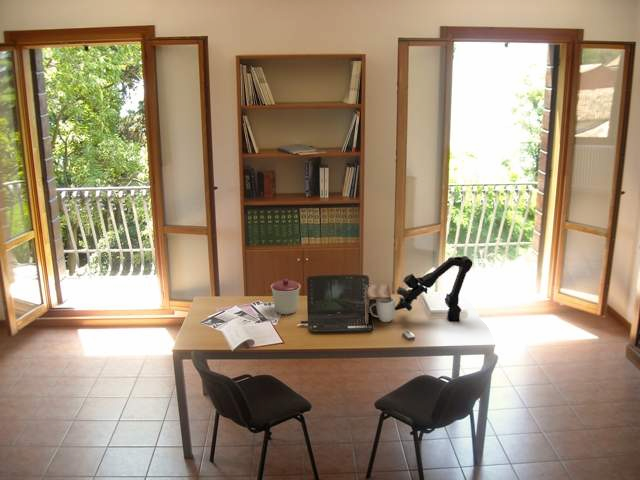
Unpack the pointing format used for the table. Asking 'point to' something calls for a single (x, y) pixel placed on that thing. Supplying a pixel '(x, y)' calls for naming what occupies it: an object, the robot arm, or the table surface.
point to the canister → (285, 296)
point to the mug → (384, 309)
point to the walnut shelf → (375, 297)
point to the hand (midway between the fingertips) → (394, 309)
